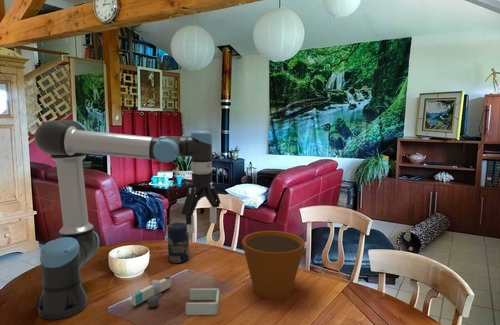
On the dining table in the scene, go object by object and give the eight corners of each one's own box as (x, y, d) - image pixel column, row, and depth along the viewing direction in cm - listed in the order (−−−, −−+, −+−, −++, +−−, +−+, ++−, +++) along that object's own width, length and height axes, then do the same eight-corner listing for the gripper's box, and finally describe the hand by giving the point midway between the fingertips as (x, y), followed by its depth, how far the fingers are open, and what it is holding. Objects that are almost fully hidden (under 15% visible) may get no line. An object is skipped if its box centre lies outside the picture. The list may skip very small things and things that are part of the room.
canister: (186, 264, 161) (186, 225, 158) (165, 264, 161) (165, 225, 158) (190, 256, 170) (190, 219, 168) (170, 255, 170) (170, 219, 168)
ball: (146, 309, 123) (145, 298, 123) (149, 303, 127) (148, 293, 127) (157, 309, 123) (157, 298, 123) (160, 303, 127) (160, 292, 127)
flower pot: (228, 290, 137) (229, 240, 135) (268, 271, 155) (269, 226, 152) (277, 314, 121) (278, 258, 119) (315, 289, 139) (317, 240, 136)
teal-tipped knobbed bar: (130, 303, 125) (130, 291, 124) (166, 284, 139) (166, 273, 138) (136, 306, 123) (136, 293, 123) (172, 287, 137) (172, 275, 137)
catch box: (185, 314, 120) (185, 303, 120) (190, 298, 131) (189, 288, 130) (217, 314, 120) (217, 303, 120) (219, 298, 131) (219, 288, 130)
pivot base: (148, 298, 130) (148, 297, 130) (151, 292, 135) (151, 291, 135) (160, 298, 130) (160, 296, 130) (162, 292, 135) (162, 291, 135)
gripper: (187, 178, 120) (188, 238, 123) (229, 169, 141) (229, 220, 144) (170, 176, 124) (171, 234, 127) (214, 167, 145) (214, 218, 148)
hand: (202, 227), depth 135 cm, fingers open, 13 cm apart
